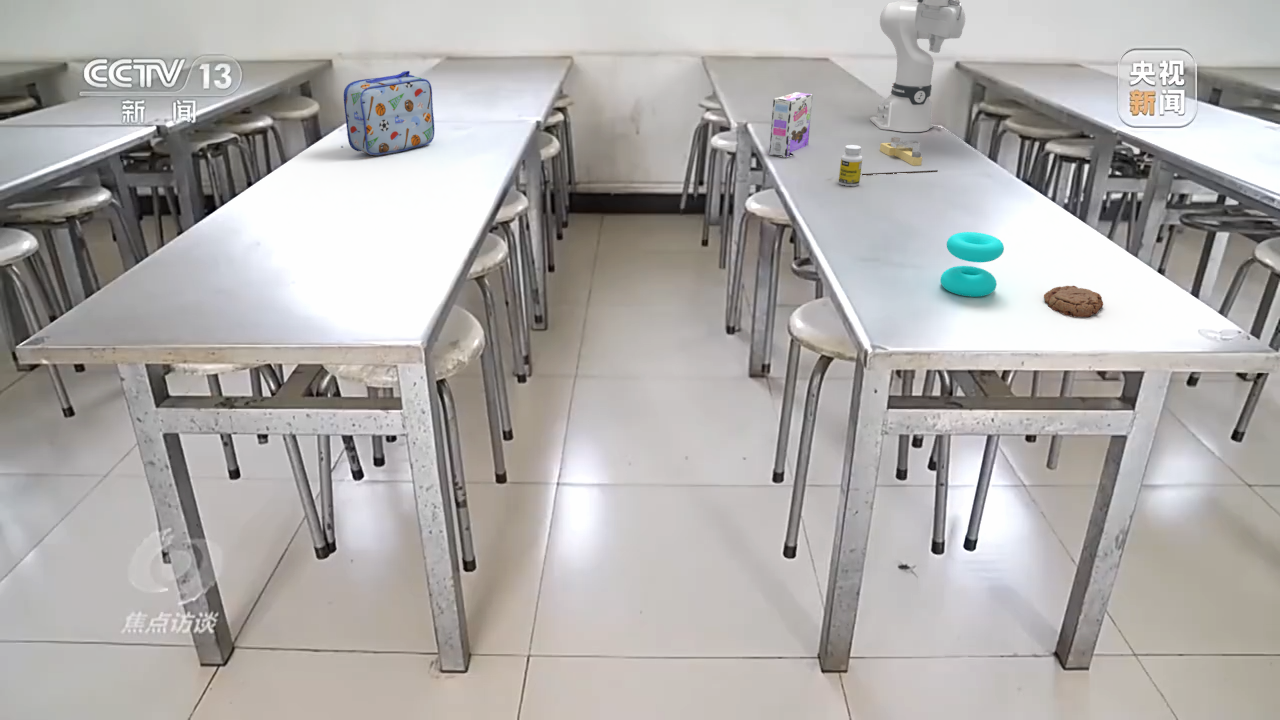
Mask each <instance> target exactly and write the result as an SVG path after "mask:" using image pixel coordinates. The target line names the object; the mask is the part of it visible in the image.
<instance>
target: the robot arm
mask: <svg viewBox="0 0 1280 720" xmlns="http://www.w3.org/2000/svg"><path fill="white" fill-rule="evenodd" d="M964 10H965V9H963V7H962V4H961V1H960V0H898V1H893V2H888V3H887V4H886V5H885V6H884V8H883V9H882V10H881V13H880V17H879V26H880V29H881V31H882V32H883V34H884V35H886V36H887V37H888V39H889V40H890V41H891V43H892V45H893V47H894V48H895V49H894V50H895V52H896V74H895V75H896V76H895V82H893V83H892V86H891V90H890V95H888V97H886V98H885V99H884V100H883V101H882V102H880V104H879V105H878V107H877V115H876V116H871V117H870V122H872V123H873V124H874V125H875V126H876V127H877V128H878V129H880V130H887V131H896V132H904V133H921V132H926V131H929V130H931V128H934V124H933V123H932V114H933V113H932V110H933V102H932V100H931V99H930V97H931V93H932V77H933V76H932V75H933V70H934V64H935V61H934V59H933V57H932V55H931V54H930V53H929V52H932V53H934V54H936V53H940V51H941V47H942V45H943V43H944V42H945V40H949V39H953V40H954V39H960V38H961V36H962V33H963V30H964V27H965V25H966V24H965V23H966V13H965V11H964ZM920 39H922V40H928V45H929V48H928V51H929V52H928V51H925V50H924V49H922V48H920V46H919V44H918V40H920Z"/></svg>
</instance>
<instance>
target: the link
mask: <svg viewBox="0 0 1280 720" xmlns="http://www.w3.org/2000/svg"><path fill="white" fill-rule="evenodd" d="M879 145H880V146H879V152H880V153H883V154H885V155H887V156H893V157H896V158H899V159H901V160H902V161H904V162H906V163H907V164H910V165H911V166H914V167H915V166H922V161H923V157H922V152H920V151H919V152H911V151H909V148H894V147H891V146H890V145H891V142H882V143H881V142H880V144H879Z"/></svg>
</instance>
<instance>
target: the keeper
mask: <svg viewBox="0 0 1280 720" xmlns="http://www.w3.org/2000/svg"><path fill="white" fill-rule="evenodd" d="M890 143H891V146H892V147H894V148H909V151H911V152H920V146H921V143H920V142H919V141H917V140H904V141H903V140H900V141H899V142H891V141H890Z"/></svg>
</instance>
